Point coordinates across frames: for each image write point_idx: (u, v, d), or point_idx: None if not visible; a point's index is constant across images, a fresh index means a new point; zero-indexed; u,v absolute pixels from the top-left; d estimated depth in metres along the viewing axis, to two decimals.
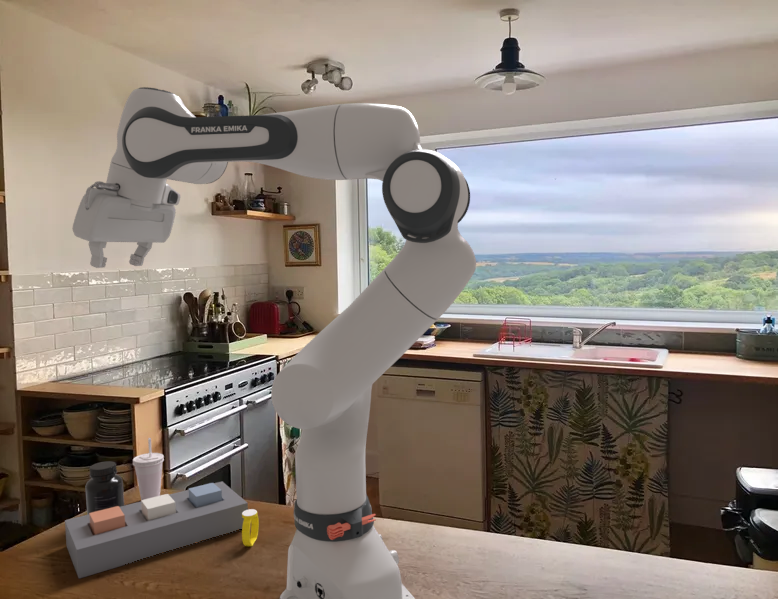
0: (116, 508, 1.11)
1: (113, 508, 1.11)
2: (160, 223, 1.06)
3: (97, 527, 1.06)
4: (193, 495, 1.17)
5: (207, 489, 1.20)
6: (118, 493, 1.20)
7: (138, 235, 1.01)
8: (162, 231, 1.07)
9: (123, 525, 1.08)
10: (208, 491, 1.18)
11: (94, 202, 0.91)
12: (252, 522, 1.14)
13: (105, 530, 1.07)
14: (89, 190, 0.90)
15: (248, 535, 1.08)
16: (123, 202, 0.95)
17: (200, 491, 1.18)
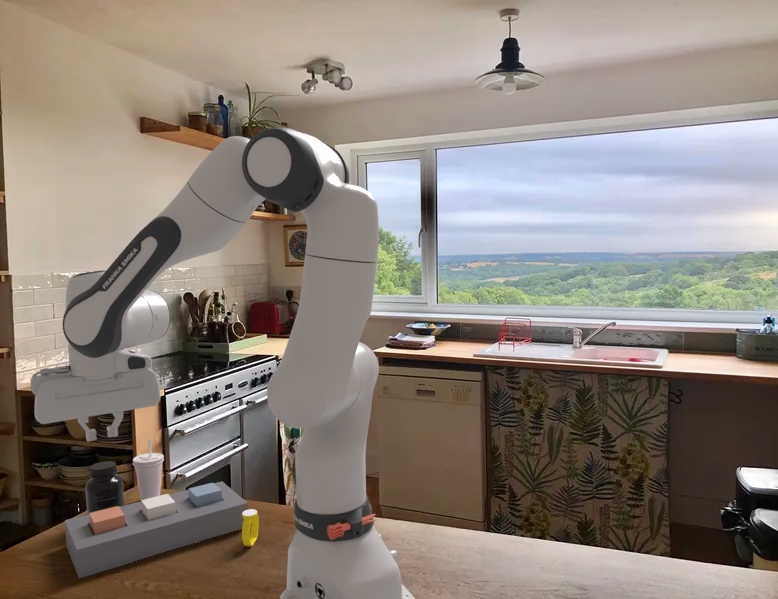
0: (116, 508, 1.11)
1: (113, 508, 1.11)
2: (139, 389, 1.09)
3: (97, 527, 1.06)
4: (193, 495, 1.17)
5: (207, 489, 1.20)
6: (118, 493, 1.20)
7: (109, 406, 1.06)
8: (145, 396, 1.10)
9: (123, 525, 1.08)
10: (208, 491, 1.18)
11: (38, 388, 1.01)
12: (252, 522, 1.14)
13: (105, 530, 1.07)
14: (31, 379, 1.01)
15: (248, 535, 1.08)
16: (72, 380, 1.03)
17: (200, 491, 1.18)
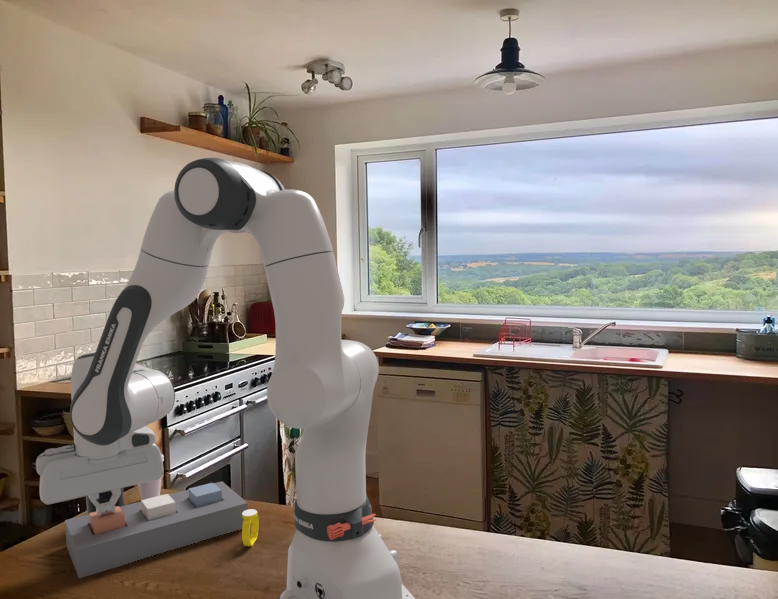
0: (116, 508, 1.11)
1: None
2: (142, 464, 1.11)
3: (97, 527, 1.06)
4: (193, 495, 1.17)
5: (207, 489, 1.20)
6: None
7: (113, 483, 1.08)
8: (149, 471, 1.11)
9: (123, 525, 1.08)
10: (208, 491, 1.18)
11: (43, 469, 1.02)
12: (252, 522, 1.14)
13: (105, 530, 1.07)
14: (36, 460, 1.02)
15: (248, 535, 1.08)
16: (77, 460, 1.04)
17: (200, 491, 1.18)
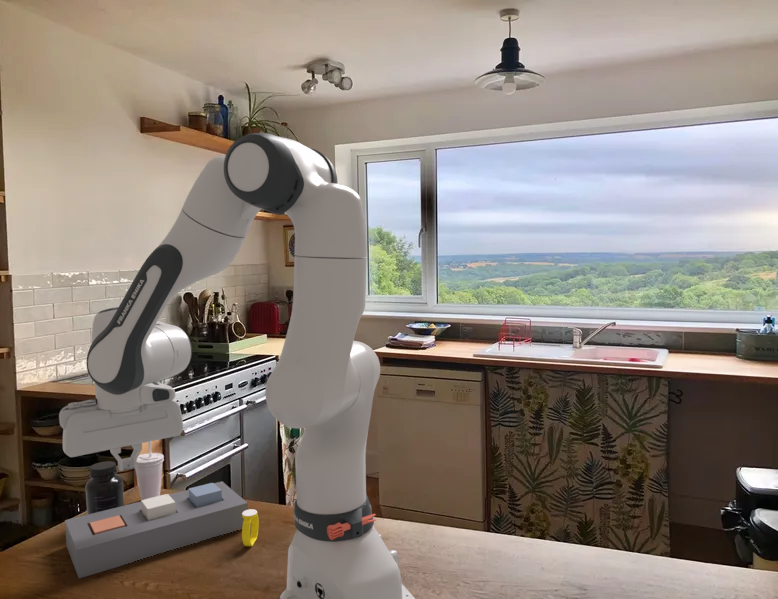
0: (117, 517, 1.11)
1: (114, 517, 1.11)
2: (163, 420, 1.12)
3: None
4: (193, 495, 1.17)
5: (207, 489, 1.20)
6: (118, 493, 1.20)
7: (134, 437, 1.09)
8: (169, 426, 1.13)
9: None
10: (208, 491, 1.18)
11: (66, 422, 1.03)
12: (252, 522, 1.14)
13: None
14: (59, 413, 1.03)
15: (248, 535, 1.08)
16: (99, 414, 1.05)
17: (200, 491, 1.18)
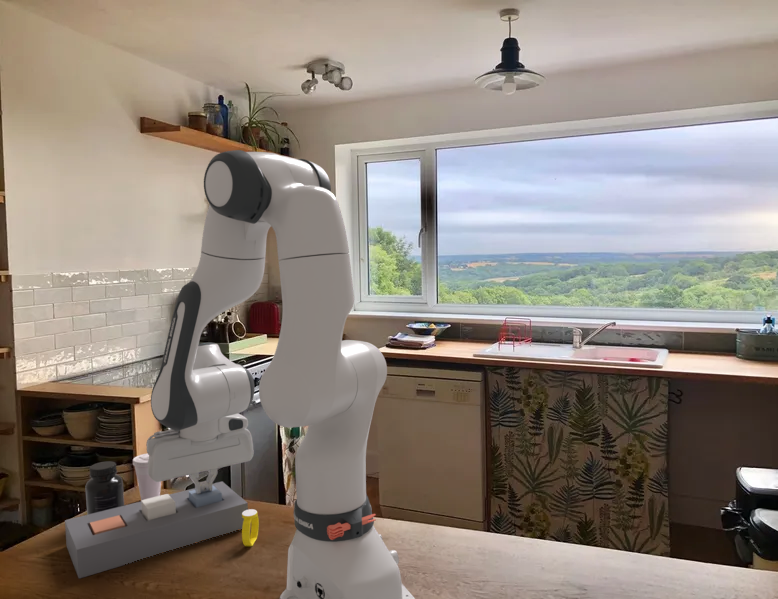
0: (117, 517, 1.11)
1: (114, 517, 1.11)
2: (236, 447, 1.21)
3: None
4: (193, 498, 1.17)
5: None
6: (118, 493, 1.20)
7: (211, 463, 1.18)
8: (241, 453, 1.22)
9: None
10: (209, 493, 1.18)
11: (153, 450, 1.12)
12: (252, 522, 1.14)
13: None
14: (147, 442, 1.12)
15: (248, 535, 1.08)
16: (182, 442, 1.15)
17: (200, 494, 1.18)
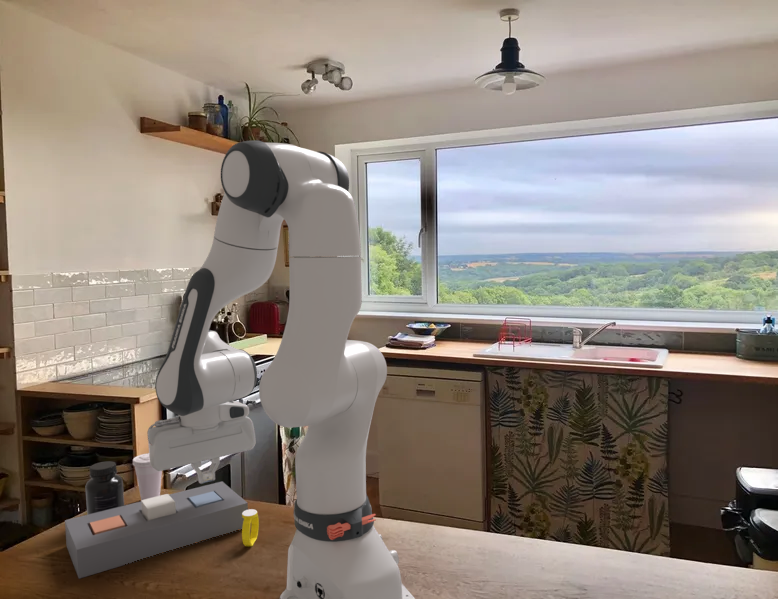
0: (117, 517, 1.11)
1: (114, 517, 1.11)
2: (238, 435, 1.20)
3: None
4: (193, 504, 1.17)
5: (207, 497, 1.20)
6: (118, 493, 1.20)
7: (213, 452, 1.18)
8: (243, 441, 1.21)
9: None
10: (209, 500, 1.19)
11: (154, 439, 1.12)
12: (252, 522, 1.14)
13: None
14: (148, 431, 1.12)
15: (248, 535, 1.08)
16: (183, 431, 1.14)
17: (201, 500, 1.18)
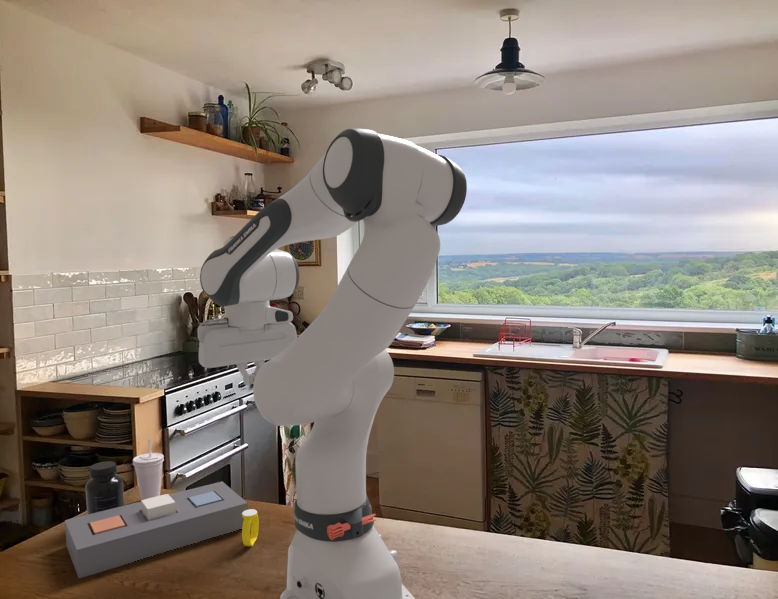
0: (117, 517, 1.11)
1: (114, 517, 1.11)
2: (282, 340, 1.23)
3: None
4: (193, 504, 1.17)
5: (207, 497, 1.20)
6: (118, 493, 1.20)
7: (259, 354, 1.20)
8: (287, 346, 1.24)
9: None
10: (209, 500, 1.19)
11: (204, 337, 1.15)
12: (252, 522, 1.14)
13: None
14: (198, 328, 1.15)
15: (248, 535, 1.08)
16: (231, 330, 1.17)
17: (201, 500, 1.18)
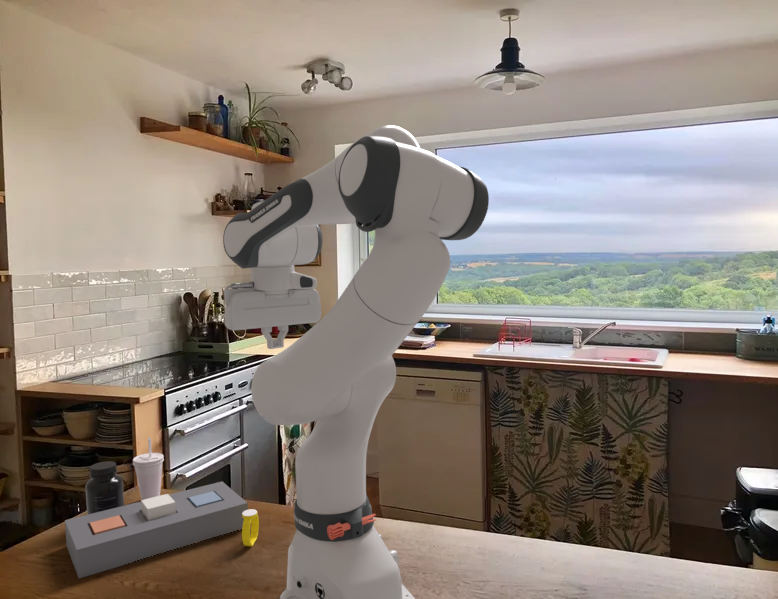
0: (117, 517, 1.11)
1: (114, 517, 1.11)
2: (305, 306, 1.25)
3: None
4: (193, 504, 1.17)
5: (207, 497, 1.20)
6: (118, 493, 1.20)
7: (283, 319, 1.22)
8: (310, 313, 1.26)
9: None
10: (209, 500, 1.19)
11: (230, 299, 1.16)
12: (252, 522, 1.14)
13: None
14: (224, 291, 1.16)
15: (248, 535, 1.08)
16: (257, 294, 1.18)
17: (201, 500, 1.18)
